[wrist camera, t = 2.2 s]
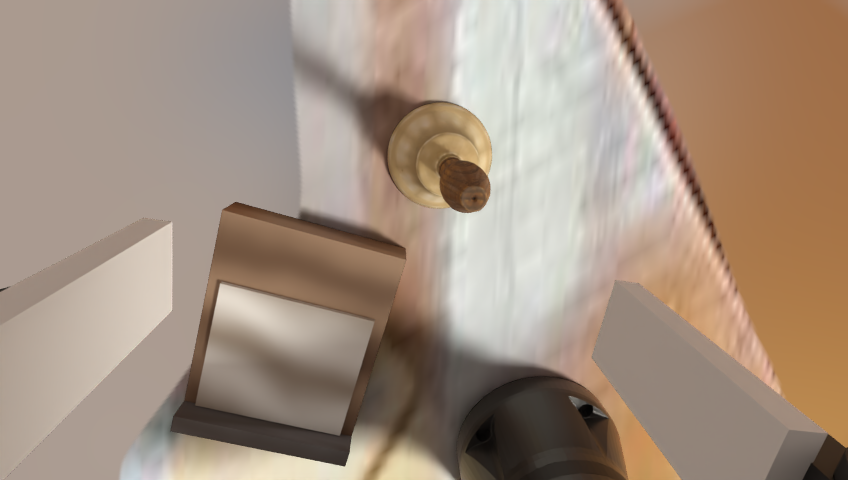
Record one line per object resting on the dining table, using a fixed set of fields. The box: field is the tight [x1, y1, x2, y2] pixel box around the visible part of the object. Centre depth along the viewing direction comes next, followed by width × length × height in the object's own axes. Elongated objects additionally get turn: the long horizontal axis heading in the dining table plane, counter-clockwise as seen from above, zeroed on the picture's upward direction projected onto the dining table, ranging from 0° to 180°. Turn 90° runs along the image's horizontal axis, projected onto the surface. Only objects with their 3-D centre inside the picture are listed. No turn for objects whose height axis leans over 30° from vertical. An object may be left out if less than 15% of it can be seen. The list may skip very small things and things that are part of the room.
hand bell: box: [388, 102, 492, 213], centre depth 29 cm, size 8×8×16 cm
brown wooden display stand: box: [171, 202, 406, 466], centre depth 38 cm, size 18×14×5 cm
